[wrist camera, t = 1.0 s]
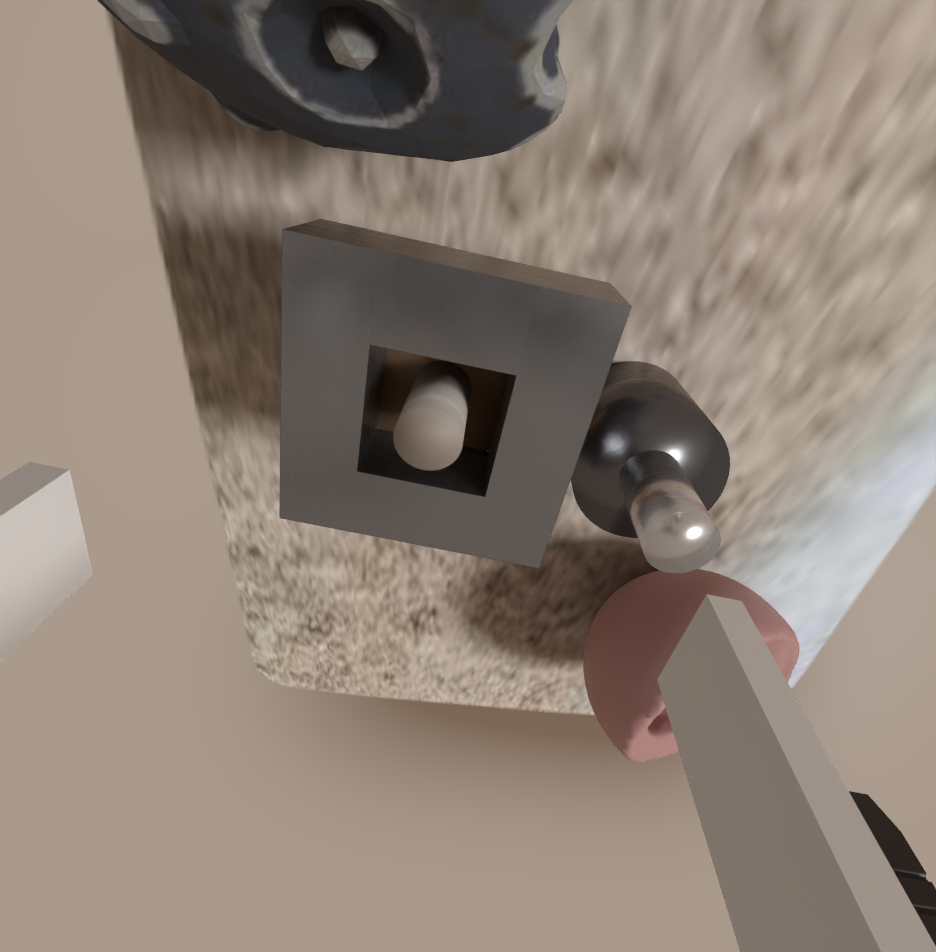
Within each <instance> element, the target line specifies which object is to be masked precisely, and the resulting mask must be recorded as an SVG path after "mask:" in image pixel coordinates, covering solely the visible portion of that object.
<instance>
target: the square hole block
mask: <svg viewBox="0 0 936 952" xmlns="http://www.w3.org/2000/svg"><path fill="white" fill-rule="evenodd" d="M631 307H632V306H631V305H630V304H629V303H628V302H627V301H626V300H625V299H624V298H623V297H622V295H621V294H620V293H619V292H618V291H617V290H616V289H615V288H614V287H613V286H612V285H611V284H610V283H607V282H602V281H598V280H593V279H589V278H584V277H580V276H575V275H571V274H566V273H562V272H557V271H553V270H548V269H544V268H539V267H535V266H530V265H526V264H521V263H517V262H512V261H508V260H503V259H499V258H494V257H490V256H485V255H481V254H476V253H472V252H467V251H463V250H458V249H454V248H449V247H445V246H440V245H436V244H431V243H427V242H422V241H418V240H413V239H409V238H404V237H400V236H395V235H391V234H386V233H382V232H377V231H373V230H368V229H364V228H359V227H355V226H351V225H346V224H342V223H337V222H333V221H328V220H324V219H319V220H315V221H312V222H308V223H304V224H301V225H297V226H293V227H289V228H286V229H283V232H282V329H281V427H280V518H282V519H287V520H293V521H298V522H303V523H308V524H313V525H318V526H323V527H329V528H334V529H339V530H344V531H349V532H354V533H360V534H365V535H370V536H375V537H380V538H385V539H390V540H396V541H401V542H406V543H411V544H416V545H421V546H427V547H432V548H437V549H442V550H447V551H452V552H457V553H463V554H468V555H473V556H478V557H483V558H488V559H494V560H499V561H504V562H509V563H514V564H519V565H524V566H530V567H535V568H540V565H541V562H542V559H543V556H544V553H545V551H546V548H547V545H548V542H549V539H550V536H551V534H552V531H553V528H554V525H555V522H556V519H557V517H558V514H559V511H560V508H561V505H562V503H563V500H564V497H565V494H566V491H567V488H568V486H569V483H570V480H571V477H572V474H573V471H574V469H575V466H576V463H577V460H578V457H579V454H580V452H581V449H582V446H583V443H584V440H585V437H586V435H587V432H588V429H589V426H590V423H591V420H592V418H593V415H594V412H595V409H596V406H597V403H598V401H599V398H600V395H601V392H602V389H603V386H604V384H605V381H606V378H607V375H608V372H609V369H610V367H611V364H612V361H613V358H614V355H615V352H616V350H617V347H618V344H619V341H620V338H621V335H622V333H623V330H624V327H625V324H626V321H627V318H628V316H629V313H630V310H631ZM387 348H389V349H393V350H398V351H403V352H408V353H412V354H417V355H422V356H426V357H431V358H436V359H441V360H445V361H450V362H455V363H459V364H464V365H469V366H474V367H478V368H483V369H488V370H492V371H497V372H502V373H507V376H506V380H505V384H504V388H503V392H502V396H501V400H500V405H499V409H498V413H497V417H496V421H495V425H494V429H493V433H492V437H491V441H490V445H489V449H488V451H485V450H480V449H476V448H471V447H466V446H462V450H461V453H460V455H459V456H458V458H457V459H456V460H455V461H454V462H453V463H452V464H451V465H449V466H447V467H445V468H443V469H439V470H432V471H430V470H422V469H418V468H415V467H413V466H411V465H410V464H408V463H407V462H405V461H404V460H403V459H402V458H401V457H400V455H399V454H398V452H397V450H396V448H395V446H394V441H393V432H392V431H387V430H383V429H378V424H379V415H380V407H381V399H382V390H383V382H384V373H385V365H386V356H387Z"/></svg>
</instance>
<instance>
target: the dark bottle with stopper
mask: <svg viewBox="0 0 936 952" xmlns="http://www.w3.org/2000/svg"><path fill="white" fill-rule="evenodd" d="M729 469H730V457H729V452H728V448H727V445H726V442H725V440H724V439H723V437H722V435H721V433H720V432H719V431H718V430H717V429H716V427H715V426H714V425H713V424H712V422H711V421H710V420H709V419H708V418H707V416H706V415H705V414H704V413H703V411H702V410H701V409H700V408H699V407H698V405H697V404H696V403H695V402H694V400H693V399H692V398H691V397H690V396H689V394H688V393H687V392H686V391H685V389H684V388H683V387H682V386H681V385H680V383H679V382H678V381H677V380H676V379H675V378H674V377H673V376H672V375H671V374H670V373H668V372H667V371H665V370H664V369H662V368H660V367H657V366H655V365H652V364H648V363H643V362H622V363H617V364H612V365H611V367H610V369H609V372H608V375H607V378H606V381H605V384H604V386H603V389H602V392H601V395H600V398H599V401H598V403H597V406H596V409H595V412H594V415H593V418H592V420H591V423H590V426H589V429H588V432H587V435H586V437H585V440H584V443H583V446H582V449H581V452H580V454H579V457H578V460H577V463H576V466H575V469H574V471H573V474H572V477H571V482H572V487H573V492H574V496H575V499H576V501H577V504H578V506H579V507H580V509H581V511H582V512H583V513H584V515H585V516H586V517H587V518H588V519H589V520H590V521H591V522H592V523H594V524H595V525H597V526H598V527H600V528H601V529H603V530H605V531H607V532H610V533H612V534H615V535H619V536H623V537H630V538H638V539H639V542H640V545H641V547H642V550H643V553H644V556H645V558H646V560H647V561H648V563H649V564H650V565H651V566H653V567H654V568H656V569H658V570H660V571H663V572H667V573H685V572H690V571H693V570H696V569H698V568H700V567H702V566H703V565H705V564H706V563H708V562H709V561H710V560H711V559H712V558H713V557H714V556H715V554H716V553H717V551H718V549H719V546H720V541H721V539H720V533H719V530H718V528H717V527H716V525H715V523H714V522H713V520H712V518H711V517H710V515H709V513H708V512H707V511H708V510H709V509H710V508H711V507H712V506H713V505H714V504H715V502H716V501H717V500H718V498H719V497H720V495H721V493H722V492H723V489H724V487H725V485H726V482H727V479H728V476H729Z"/></svg>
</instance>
